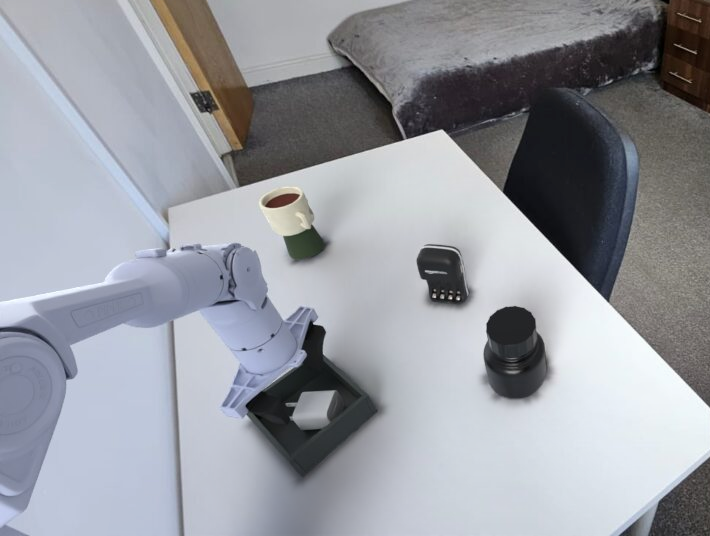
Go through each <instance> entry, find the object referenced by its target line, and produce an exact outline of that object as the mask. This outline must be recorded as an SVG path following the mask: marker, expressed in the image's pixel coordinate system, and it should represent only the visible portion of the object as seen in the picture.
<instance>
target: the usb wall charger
mask: <svg viewBox="0 0 710 536" xmlns="http://www.w3.org/2000/svg"><path fill="white" fill-rule="evenodd" d="M288 404H289V405H288ZM286 406H287V407H295V406H296V408H295V410H294V412H293V417H290V420H294V422H295V423H296V424H297V425H298V427H299V428H300V429H301V430H314V429H323V428H324V427H325V426H327V425H328V424H329V423H330V422H331V421H333V420H334V419H335V418H336V417H337V416H339V415H340V414H341V413H342V410H343V407H344V401H343V399H342V398H341V396H340V395H339V393H338V391H337V390H334V391H314V392H303V393H302V394H301V396H300V398H299V401H298V403H286Z"/></svg>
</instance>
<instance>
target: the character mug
mask: <svg viewBox="0 0 710 536" xmlns="http://www.w3.org/2000/svg"><path fill="white" fill-rule="evenodd" d="M258 206H259V208H260V210H261V211H262V213H263V215H264V217H265V218H266V220H267V222H268V224H269V226H270V228H271V230H272V231H273V232H274V233H275V234H276V235H279V236H281V237H282V238H283V241H284V244H285V246H286V250H287V252H288V255H289V257H290V258H291V259H294V260H304V259H308V258H311V257H313V256H316V255H317V254H320V253H321V252H322V251H324V248H325V247H326V244H325V241H324V239H323V238H322V236H321V234H320V233H319V231H318V230H317V229H316V227H314V225H313V223H314V222H315V213H314V212H313V210H312V209H311V207H310V205H309V200H308V199H307V197H306V194H305V193H304V191H303V189H302V187H299V186H296V185H295V186H293V185H286V186H285V185H284V186H280V187H277V188H273V189H271V190H269V191H267V192H266V193H264V194H263V195H262V196H261V197H260V199H258Z"/></svg>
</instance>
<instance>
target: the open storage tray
mask: <svg viewBox="0 0 710 536" xmlns="http://www.w3.org/2000/svg"><path fill="white" fill-rule="evenodd" d="M323 360H324V370H323V371H322V372H319V371H312V370H308V369H307V368H306V367H305V366H304V365H303V363H301V365H300V366H298V367H295V368H294V367H291V369H289V370H287V372H285V373H284V374H283V375H280V376H279V377H278V378H276V379H275V380H274V381H273V382H271V383H270V384H269V385H268V386H267V387H265V388H264V389H263V390H262V391H266V392H267V394H273V395H279V396H281V397H280V400H281V405H282V407H283V409H284V410H285V412H286V413H287V414H288V415H289V417H293V412H294V410H295V408H296V406H295V407H287V406H286V403H298V401H299V398H300V396H301V394H302V393H303V392H314V391H334V390H337V391H338V393H339V395H340V396H341V398H342V399H343V401H344V407H343V410H342V413H341V414H340V415H339V416H337V417H336V418H335V419H334V420H333V421H331V422H330V423H329V424H328V425H327V426H325V427H324V428H323V429H314V430H301V429H300V428H299V427H298V425H297V424H296V423H295V422H294V420H290V421H289V423H288V424H287V425H283V424H277V423H272V422H271V421H269V420H268V419H266V418H264V417H262V416H260V415H257V414H254V413H251V412H248V413H247V414H246V415H245V416H247V417H248V419H249V420H250V421H251V422H252V423H253V424H254V425H255V426H256V428H257V429H258V430H259V431H260V432H261V433H262V434H263V436H265V438H266V439H267V440H268V441H269V443H271V445H272V446H273V447H274V448H275V449H276V450H277V451H278V453H279V454H280V455H281V456H282V457H283V459H285V461H286V462H287V463H288V464H289V465H290V466H291V467H292V468H293V469H294V471H296V472H297V474H299V476H300V477H301V478H303V477H305V476H306V475H308V473H310V471H312V470H313V469H314V468H315V467H316V466H318V465H319V464H320V463H321V461H323V460H324V459H325V458H326V457H327V456H329V455H330V454H331V453H332V452H333V451H335V449H337V448H338V447H339V446H340V445H341V444H342V443H343V442H345V441H346V440H347V439H348V438H349V437H350V436H351V435H352V434H353V433H355V432H356V431H357V430H358V429H359V428H360V427H362V426H363V425H364V424H365V423H366V422H368V420H370V419H371V418H372V417H373V416H374V415H376V414H377V412H378V409H377V408H376V406H375V404H374V402H373V400H372V399H371V396H370V394H369V393H367V392H366V391H365V390H364V389H363V388H361V386H359V385H358V384H357V383H356V382H355V381H354V380H353V379H352V378H351V377H349V376H348V374H346V373H345V372H344V371H343V370H342V369H341V368H339V367H338V366H337V365H336V364H335V363H334V362H333V361H331V360H330V359H329V358H328V357H327V356H326V355H325V354H323ZM288 405H289V404H288Z"/></svg>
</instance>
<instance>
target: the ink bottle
mask: <svg viewBox="0 0 710 536" xmlns="http://www.w3.org/2000/svg"><path fill="white" fill-rule="evenodd" d="M536 322H537V321H536V317H535V316H534V314H533V312H532V311H530V310H528V309H526V307H523V306H522V307H521V306H518V305H509V306H504V307H502V308H499V309H497V310H495V311H494V312H493V313H492V314H491V315H490V316H489V317H488V320H487V322H486V323H485V327H486V329H485V332H486V336H487V337H486V338H487V340H486V342H485V344H484V348H483V356H482V357H483V362H484V368H485V371H486V376H487V381H488V384H489V386H490V387H491V389H492V390H493V391H494V392H495V393H496V394H497V395H499V396H501V397H503V398H506V399H511V400H519V399H525V398H528V397H530V396H532V395H533V394H535V393H536V392H537V391H538V390H539V389H540V388H541V387H542V385H543V384H544V381H545V379H546V376H547V367H548V365H547V351H546V345H545V341H544V339H543V336H541V334H540V333H539V332H538V331H537V323H536Z"/></svg>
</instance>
